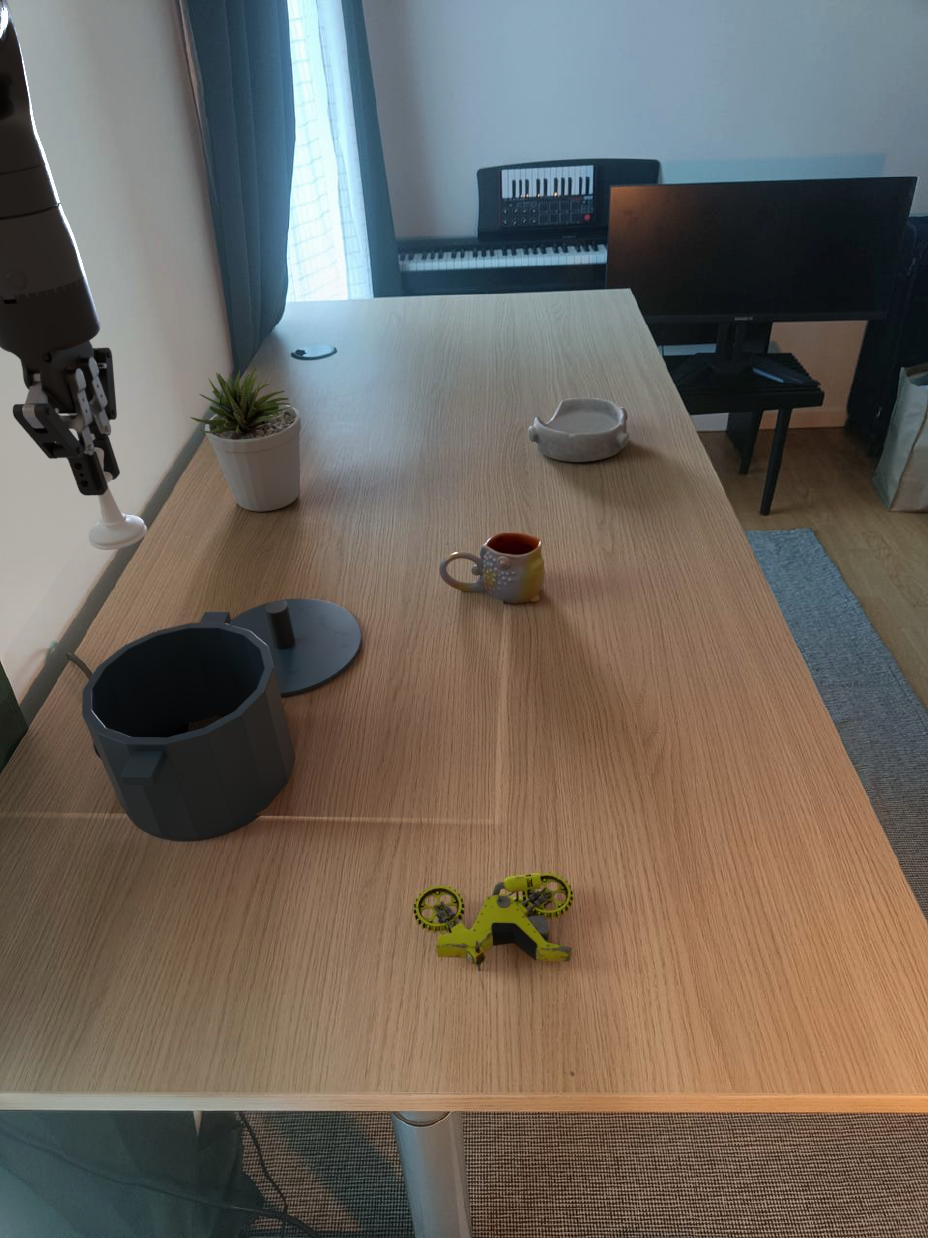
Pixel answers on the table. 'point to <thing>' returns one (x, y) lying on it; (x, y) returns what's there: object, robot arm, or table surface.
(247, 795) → the pot
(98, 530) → the chess piece
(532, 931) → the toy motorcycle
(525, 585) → the mug
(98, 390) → the robot arm
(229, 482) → the potted plant
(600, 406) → the dish
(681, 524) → the table surface
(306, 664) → the lid
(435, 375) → the table surface
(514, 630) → the table surface
